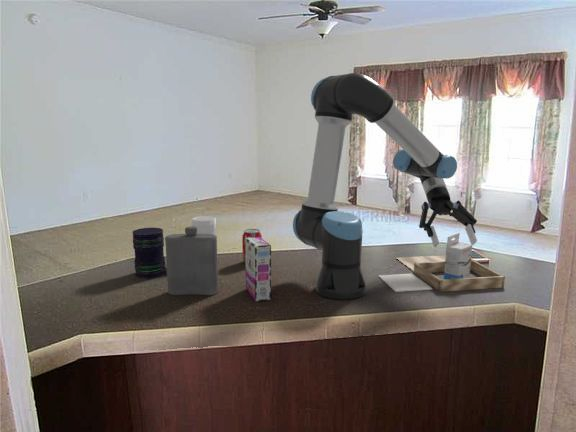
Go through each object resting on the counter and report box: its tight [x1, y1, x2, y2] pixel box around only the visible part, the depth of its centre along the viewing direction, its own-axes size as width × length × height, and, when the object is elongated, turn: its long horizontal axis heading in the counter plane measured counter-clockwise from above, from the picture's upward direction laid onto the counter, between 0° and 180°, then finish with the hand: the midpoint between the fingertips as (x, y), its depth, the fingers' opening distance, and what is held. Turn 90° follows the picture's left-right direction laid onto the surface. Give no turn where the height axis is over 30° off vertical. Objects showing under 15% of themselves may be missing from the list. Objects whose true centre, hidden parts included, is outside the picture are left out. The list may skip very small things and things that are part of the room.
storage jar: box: [132, 227, 166, 280], centre depth 147 cm, size 10×10×15 cm
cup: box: [191, 215, 219, 262], centre depth 162 cm, size 9×9×16 cm
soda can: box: [241, 228, 263, 264], centre depth 160 cm, size 7×7×12 cm
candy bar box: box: [245, 237, 272, 302], centre depth 129 cm, size 11×5×16 cm, turn 21°
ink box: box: [443, 232, 473, 279], centre depth 142 cm, size 8×5×15 cm, turn 134°
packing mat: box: [378, 272, 434, 293], centre depth 141 cm, size 12×14×1 cm
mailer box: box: [395, 254, 506, 293], centre depth 151 cm, size 22×34×4 cm, turn 10°
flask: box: [164, 225, 219, 296], centre depth 131 cm, size 15×6×20 cm, turn 91°
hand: (455, 244), depth 146 cm, fingers open, 13 cm apart
